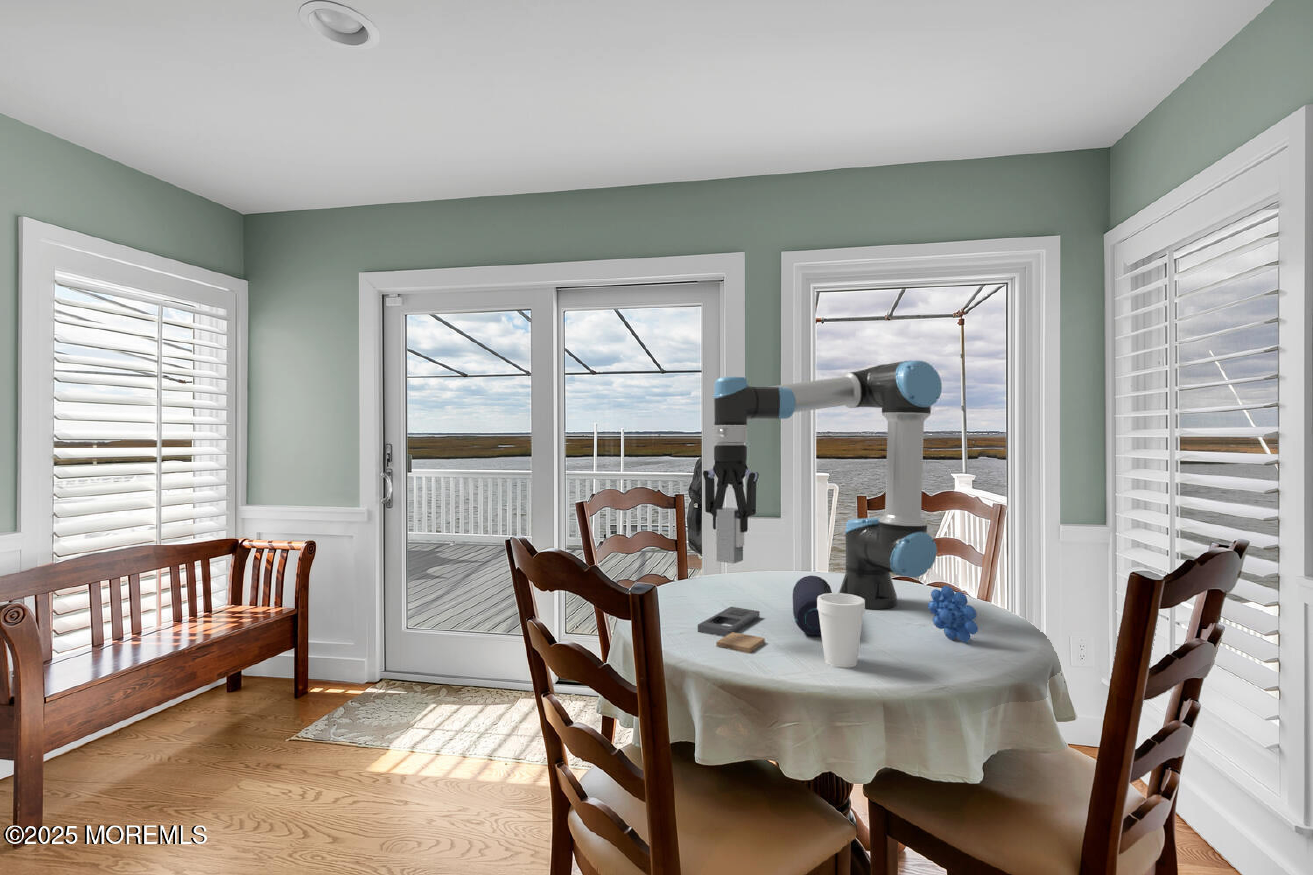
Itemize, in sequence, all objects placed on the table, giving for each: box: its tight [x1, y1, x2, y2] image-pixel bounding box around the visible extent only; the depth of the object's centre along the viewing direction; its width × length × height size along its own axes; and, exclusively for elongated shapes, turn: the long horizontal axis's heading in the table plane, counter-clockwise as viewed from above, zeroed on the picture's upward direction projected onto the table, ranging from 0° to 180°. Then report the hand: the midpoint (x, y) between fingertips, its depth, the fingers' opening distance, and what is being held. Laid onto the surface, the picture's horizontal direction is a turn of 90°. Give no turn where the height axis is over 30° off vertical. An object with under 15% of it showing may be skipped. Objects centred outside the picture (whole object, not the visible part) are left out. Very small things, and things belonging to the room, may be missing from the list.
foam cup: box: [817, 592, 866, 669], centre depth 134 cm, size 10×9×13 cm
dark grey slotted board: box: [697, 606, 761, 637], centre depth 159 cm, size 8×18×2 cm, turn 148°
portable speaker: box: [792, 575, 833, 637], centre depth 160 cm, size 25×10×10 cm, turn 169°
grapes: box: [927, 585, 979, 643], centre depth 147 cm, size 12×7×12 cm, turn 36°
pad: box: [716, 632, 766, 654], centre depth 145 cm, size 8×8×1 cm
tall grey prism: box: [716, 507, 744, 564], centre depth 151 cm, size 4×4×12 cm
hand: (729, 544), depth 151 cm, fingers closed on tall grey prism, 4 cm apart
